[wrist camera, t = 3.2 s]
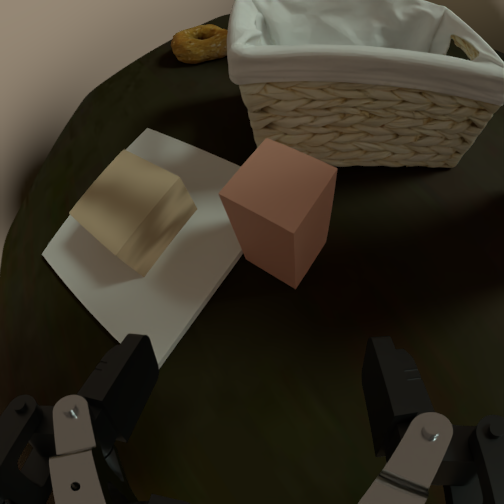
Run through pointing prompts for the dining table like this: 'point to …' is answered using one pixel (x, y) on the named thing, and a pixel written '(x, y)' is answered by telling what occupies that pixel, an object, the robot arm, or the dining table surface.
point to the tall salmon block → (281, 209)
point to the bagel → (200, 44)
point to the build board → (168, 264)
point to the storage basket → (363, 79)
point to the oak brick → (135, 210)
